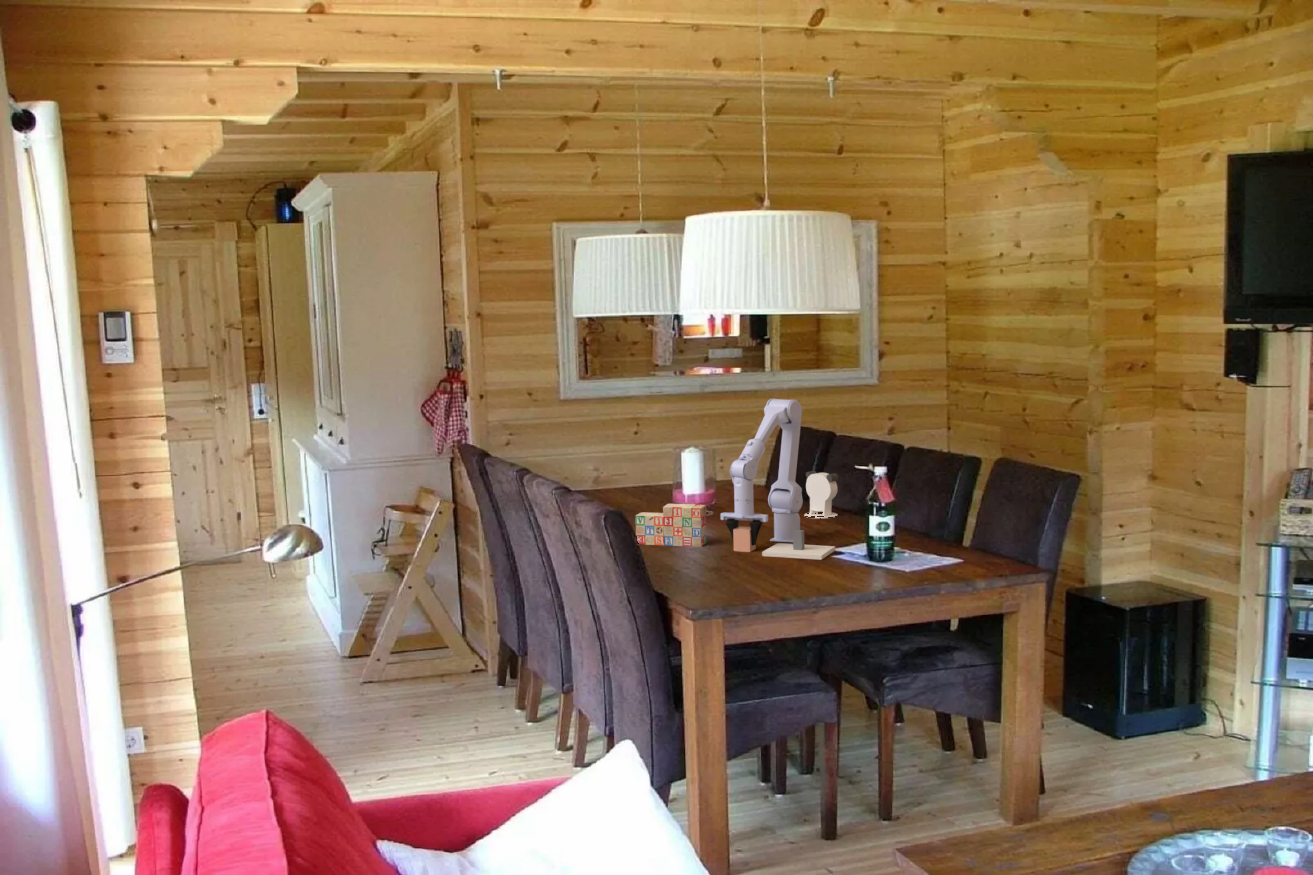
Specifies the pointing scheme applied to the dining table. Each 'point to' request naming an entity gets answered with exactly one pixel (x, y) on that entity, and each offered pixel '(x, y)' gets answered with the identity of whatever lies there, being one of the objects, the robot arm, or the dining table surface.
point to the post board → (798, 549)
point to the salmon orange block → (743, 539)
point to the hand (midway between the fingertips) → (744, 544)
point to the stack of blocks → (673, 526)
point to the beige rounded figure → (821, 493)
